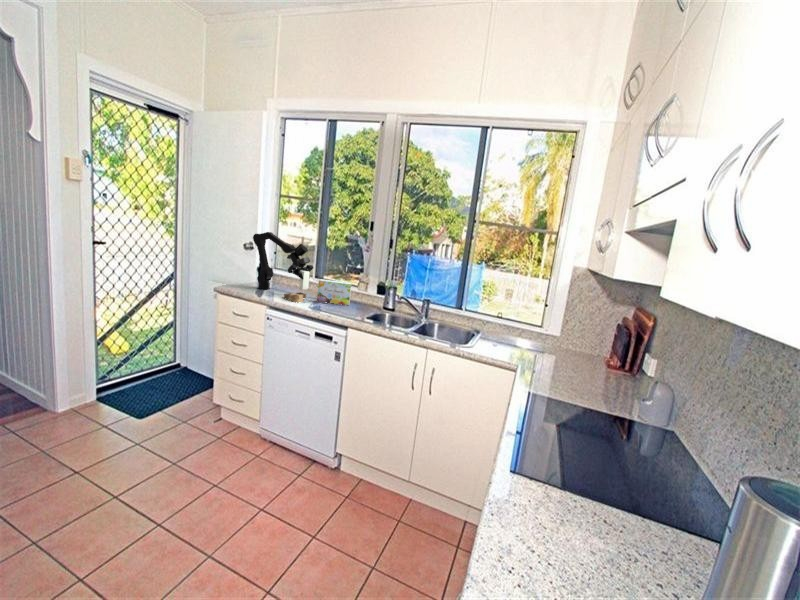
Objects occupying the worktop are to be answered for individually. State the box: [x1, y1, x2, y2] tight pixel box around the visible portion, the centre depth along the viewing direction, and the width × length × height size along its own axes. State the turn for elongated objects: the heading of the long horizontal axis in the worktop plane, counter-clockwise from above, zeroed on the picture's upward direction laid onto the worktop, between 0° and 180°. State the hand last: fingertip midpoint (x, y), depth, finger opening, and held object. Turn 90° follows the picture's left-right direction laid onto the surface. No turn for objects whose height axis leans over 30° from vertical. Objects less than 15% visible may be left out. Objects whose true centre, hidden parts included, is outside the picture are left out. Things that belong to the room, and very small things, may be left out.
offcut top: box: [290, 292, 303, 300], centre depth 244 cm, size 7×4×2 cm, turn 69°
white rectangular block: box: [299, 270, 311, 290], centre depth 257 cm, size 3×5×12 cm, turn 146°
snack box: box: [316, 278, 352, 306], centre depth 251 cm, size 21×6×15 cm, turn 92°
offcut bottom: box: [288, 297, 304, 304], centre depth 244 cm, size 8×5×2 cm, turn 56°
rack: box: [283, 292, 307, 300], centre depth 253 cm, size 6×14×3 cm, turn 147°
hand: (306, 278), depth 256 cm, fingers closed on white rectangular block, 5 cm apart
